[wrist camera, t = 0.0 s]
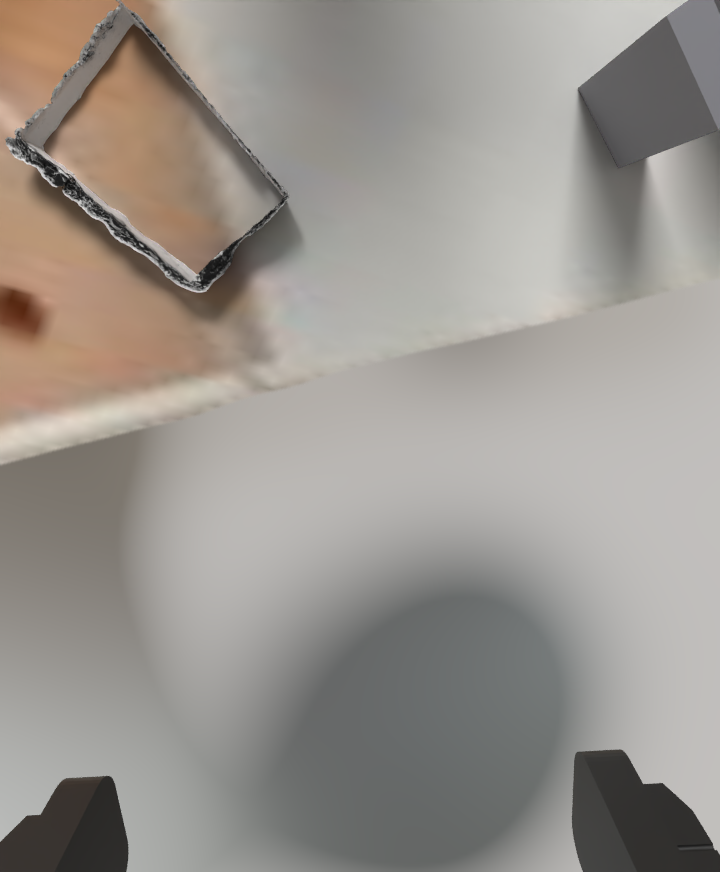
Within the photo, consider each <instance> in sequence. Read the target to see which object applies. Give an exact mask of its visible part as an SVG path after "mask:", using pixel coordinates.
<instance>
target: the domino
mask: <svg viewBox="0 0 720 872" xmlns="http://www.w3.org/2000/svg"><path fill="white" fill-rule="evenodd" d="M578 89H579V91H580V93H581V95H582V97H583V99H584V101H585V103H586V105H587V107H588V109H589V111H590V113H591V115H592V117H593V119H594V121H595V123H596V125H597V127H598V129H599V131H600V133H601V135H602V137H603V139H604V141H605V143H606V145H607V147H608V149H609V151H610V153H611V155H612V157H613V159H614V161H615V163H616V165H617V167H618V168H621V167H623V166H626V165H628V164H631V163H634V162H636V161H639V160H642V159H644V158H647V157H649V156H652V155H655V154H657V153H660V152H662V151H665V150H668V149H670V148H673V147H676V146H678V145H681V144H683V143H686V142H689V141H691V140H694V139H697V138H699V137H702V136H704V135H707V134H710V133H712V132H715V131H718V130H719V129H720V13H719V11H718V9H717V6H716V4H715V2H714V0H688V1H687V2H685V3H684V4H683V5H681V6H680V7H678V8H677V9H676V10H674V11H673V12H671V13H670V14H668V15H667V16H666V17H665V18H663V19H662V20H661V21H660V22H658V23H657V24H656V25H655V26H654V27H652V28H651V29H650V30H649V31H647V32H646V33H645V34H644V35H643V36H641V37H640V38H639V39H638V40H636V41H635V42H634V43H633V44H632V45H630V46H629V47H628V48H627V49H625V50H624V51H623V52H622V53H621V54H619V55H618V56H617V57H616V58H614V59H613V60H612V61H611V62H610V63H608V64H607V65H606V66H605V67H603V68H602V69H601V70H600V71H599V72H597V73H596V74H595V75H594V76H592V77H591V78H590V79H589V80H588V81H586V82H585V83H584V84H583V85H581V86H580V87H579V88H578Z"/></svg>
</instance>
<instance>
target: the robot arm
mask: <svg viewBox="0 0 720 872" xmlns="http://www.w3.org/2000/svg"><path fill="white" fill-rule="evenodd" d="M572 828H573V835H574V841H575V846H576V850H577V854H578V858H579V861H580V864H581V867H582V870H583V872H720V855H719V853H718V851H717V850H714V848H713V843H712V842H711V840H710V838H709V837H708V835H707V833H706V832H705V830H704V829H703V827H702V825H701V824H700V822H699V820H698V819H697V817H696V815H695V814H694V812H693V811H692V810H691V809H690V808H689V807H688V806H687V805H686V804H685V803H684V802H683V801H682V800H680V799H679V798H678V797H677V796H676V795H675V794H674V793H673V792H672V791H671V790H670V789H668V788H667V787H666V786H665V785H664V784H663V783H659V784H643V783H642V781H641V779H640V777H639V776H638V774H637V772H636V770H635V768H634V767H633V765H632V763H631V761H630V759H629V758H628V756H627V755H626V753H625V752H623V750H603V751H585V752H577V753H576V755H575V760H574V783H573V807H572ZM127 863H128V841H127V836H126V831H125V827H124V823H123V818H122V814H121V809H120V805H119V800H118V796H117V791H116V787H115V783H114V781H113V779H112V778H111V777H110V776H102V777H83V778H66V779H64V780H63V781H62V782H61V783H60V784H59V785H58V786H57V788H56V789H55V791H54V793H53V794H52V796H51V798H50V800H49V801H48V803H47V805H46V807H45V808H44V810H43V812H42V813H41V815H32V816H26V817H25V818H24V819H23V820H22V821H21V822H20V823H19V824H18V825H17V826H16V827H15V828H14V829H13V830H12V831H11V832H10V833H9V834H8V835H7V836H6V837H5V838H4V839H3V840H2V841H1V842H0V872H126V870H127Z"/></svg>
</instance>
